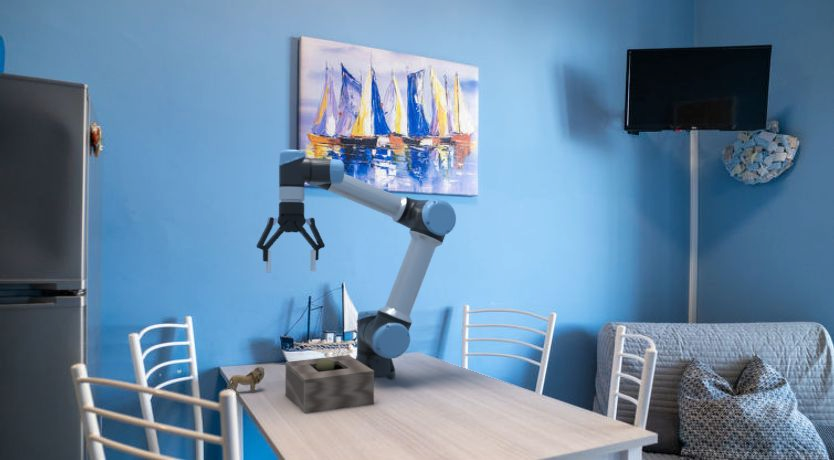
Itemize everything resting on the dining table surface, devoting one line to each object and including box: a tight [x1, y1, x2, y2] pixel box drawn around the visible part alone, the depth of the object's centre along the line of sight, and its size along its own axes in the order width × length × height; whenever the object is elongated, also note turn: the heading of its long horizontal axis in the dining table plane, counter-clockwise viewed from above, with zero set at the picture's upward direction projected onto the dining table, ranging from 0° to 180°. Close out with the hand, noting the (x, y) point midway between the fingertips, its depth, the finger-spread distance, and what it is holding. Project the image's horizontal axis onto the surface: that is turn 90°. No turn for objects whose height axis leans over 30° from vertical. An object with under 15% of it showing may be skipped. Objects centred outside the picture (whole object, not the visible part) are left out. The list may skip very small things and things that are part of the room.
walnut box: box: [284, 354, 375, 414], centre depth 159 cm, size 20×20×10 cm
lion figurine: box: [226, 366, 265, 396], centre depth 166 cm, size 12×4×7 cm, turn 117°
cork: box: [316, 359, 334, 372], centre depth 159 cm, size 6×6×11 cm
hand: (291, 271), depth 166 cm, fingers open, 13 cm apart
